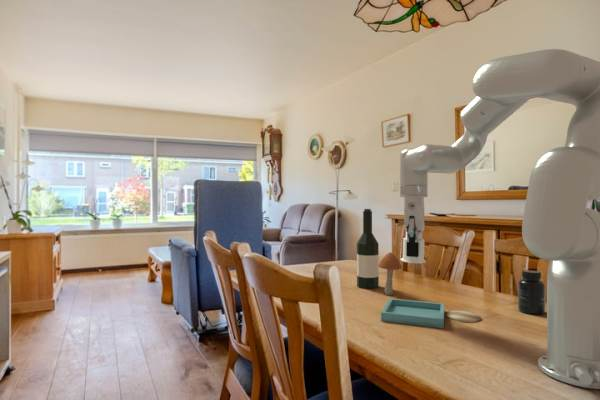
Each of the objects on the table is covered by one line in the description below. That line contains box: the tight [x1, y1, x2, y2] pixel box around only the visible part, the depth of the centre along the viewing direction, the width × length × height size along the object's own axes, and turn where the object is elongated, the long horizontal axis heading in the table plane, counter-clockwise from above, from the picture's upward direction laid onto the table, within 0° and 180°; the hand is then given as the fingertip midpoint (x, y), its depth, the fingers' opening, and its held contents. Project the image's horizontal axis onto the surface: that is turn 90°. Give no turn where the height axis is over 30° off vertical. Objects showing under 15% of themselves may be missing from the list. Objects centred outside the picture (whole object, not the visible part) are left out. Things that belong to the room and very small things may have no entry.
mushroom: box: [379, 252, 403, 296], centre depth 131 cm, size 8×8×15 cm
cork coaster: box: [445, 310, 482, 323], centre depth 105 cm, size 9×9×1 cm
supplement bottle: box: [517, 269, 546, 316], centre depth 110 cm, size 7×7×12 cm
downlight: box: [400, 226, 427, 264], centre depth 107 cm, size 8×7×10 cm
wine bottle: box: [356, 208, 380, 290], centre depth 144 cm, size 8×8×30 cm
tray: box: [380, 297, 445, 329], centre depth 106 cm, size 16×16×2 cm
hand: (413, 254), depth 107 cm, fingers closed on downlight, 5 cm apart
